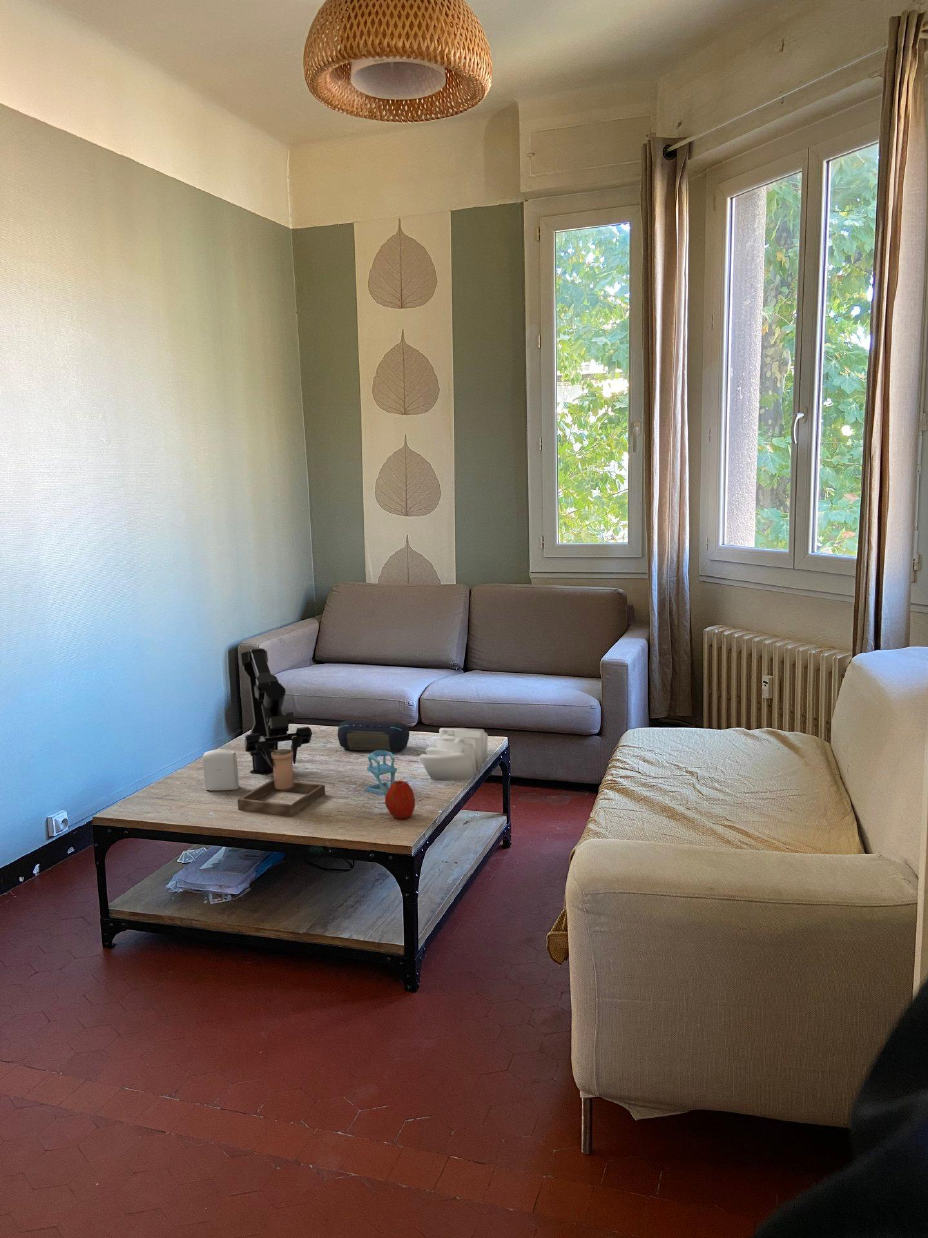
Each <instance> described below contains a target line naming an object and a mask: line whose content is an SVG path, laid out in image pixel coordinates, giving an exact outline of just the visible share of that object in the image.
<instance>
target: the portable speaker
mask: <svg viewBox="0 0 928 1238" xmlns="http://www.w3.org/2000/svg"><path fill="white" fill-rule="evenodd" d="M409 739H410V729H409V727H408V725H406V724H405V723H402V722H401V723H400V722H399V721H378V720H377V721H375V720H345V721H342V722H340V723H339V725H338V728H337V740H338V743H339V746H340V747H341V748H343V749H345V750H354V751H355V750H357V751H372V752H374V751H377V750H382V751H388V752H393V753H394V752H401V751H403V750H405V749H406V747H407V746H408V743H409V741H410V740H409Z"/></svg>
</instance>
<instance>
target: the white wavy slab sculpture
mask: <svg viewBox="0 0 928 1238" xmlns="http://www.w3.org/2000/svg"><path fill="white" fill-rule="evenodd" d="M438 732H439V737H440V738H436V739H434V744H435V745H436V747H429V746H428V747H427V748H426V749H425V753H426V754H425V753H422V754H420V755H419V756H418V759H419V761H420V763H421V764H422V765H423V766H422V767H423V768H424V769H425V771H426V772H427V775H428V776H429V778H430V779H431V780H432V779H435V781H443V780H445V781H447V782H449V781H451V782H452V781H453V782H454V781H466V780H472V779H475V776H476V775H478V774H477V771H481V768H483V765H484V764H485V763H486V761H487V760H488V748H489V747H488V746H489V745H488V743H489V742H488V740H489V739H488V738H489V737H488V735H489V734H488V733H487V732H485V729H483V728H465V727H440V728H439V730H438Z"/></svg>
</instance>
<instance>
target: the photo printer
mask: <svg viewBox="0 0 928 1238" xmlns="http://www.w3.org/2000/svg"><path fill="white" fill-rule="evenodd" d="M202 765H203V767H202V768H203V777H204V778H203V779H204V788H205V791H207V790H209V791H233V790H234V791H235V790H238V789H239V788H240V783H239V769H238V768H239V767H238V757H237V753H236V751H234V750H230V749H224V748H223V749H220V748H219V749H212V750H208V751H205V752H204V753H203V755H202Z"/></svg>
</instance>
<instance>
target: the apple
mask: <svg viewBox="0 0 928 1238" xmlns="http://www.w3.org/2000/svg"><path fill="white" fill-rule="evenodd" d="M390 785H391V784H390ZM386 791H387V793H386V796H385V795H384V796H385V797H384V804H385V807H386V809H387V811H388V812H389V814H390V815H391V816H392V817H394V818H395V819H399V820H400V819H401V820H403V819H407V818H410V817H411V816H412V814H413V813H414V810H415V806H416V799H415V798H416V797H415V794H414V791H413V788H412V787H411V786H410V785H409V783H407V782H406V781H404V780H394V783H393V784H392V785H391V786H390V788H389V789H388V788H387V790H386Z"/></svg>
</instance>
